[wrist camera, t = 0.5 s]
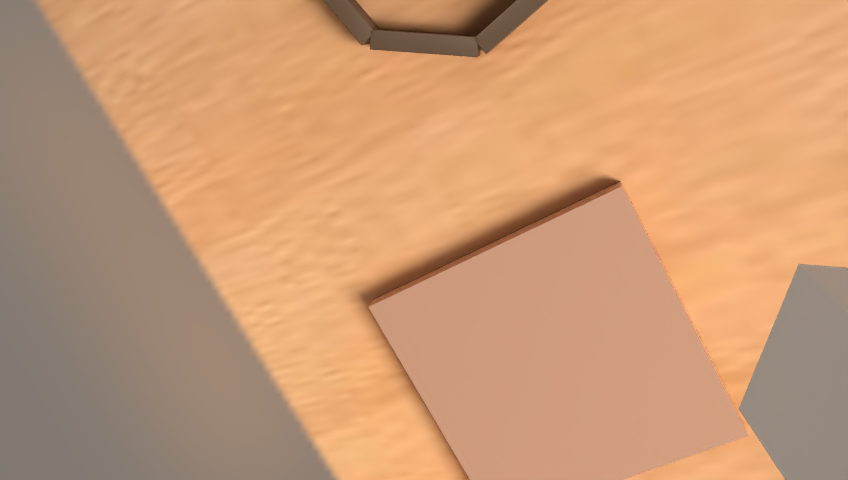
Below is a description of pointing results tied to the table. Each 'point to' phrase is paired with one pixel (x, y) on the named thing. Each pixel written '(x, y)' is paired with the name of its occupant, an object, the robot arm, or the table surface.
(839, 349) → the robot arm
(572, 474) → the terracotta tile
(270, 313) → the table surface
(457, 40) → the walnut collar
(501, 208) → the table surface
